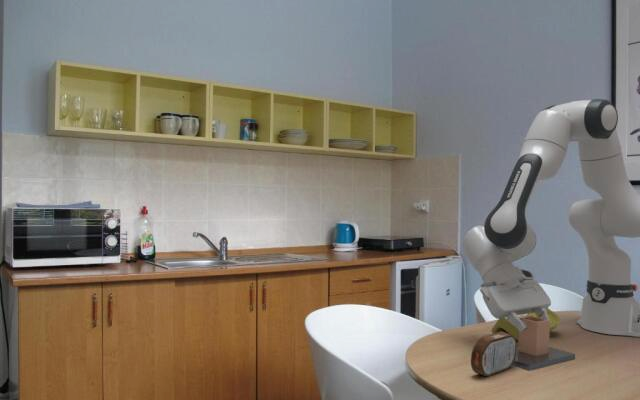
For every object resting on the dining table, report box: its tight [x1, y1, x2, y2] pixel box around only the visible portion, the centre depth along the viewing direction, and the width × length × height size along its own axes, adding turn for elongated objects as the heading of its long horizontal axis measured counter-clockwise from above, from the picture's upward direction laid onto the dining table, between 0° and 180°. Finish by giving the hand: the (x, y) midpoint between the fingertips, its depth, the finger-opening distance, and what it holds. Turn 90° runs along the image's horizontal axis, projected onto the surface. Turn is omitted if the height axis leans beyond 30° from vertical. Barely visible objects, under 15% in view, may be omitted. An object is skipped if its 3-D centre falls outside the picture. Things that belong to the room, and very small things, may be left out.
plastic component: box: [491, 307, 561, 342], centre depth 156 cm, size 20×7×10 cm
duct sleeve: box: [517, 316, 550, 356], centre depth 133 cm, size 5×5×8 cm
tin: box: [470, 331, 518, 377], centre depth 121 cm, size 15×3×8 cm, turn 131°
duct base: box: [511, 344, 576, 371], centre depth 133 cm, size 18×12×5 cm, turn 124°
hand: (536, 327), depth 133 cm, fingers open, 8 cm apart
